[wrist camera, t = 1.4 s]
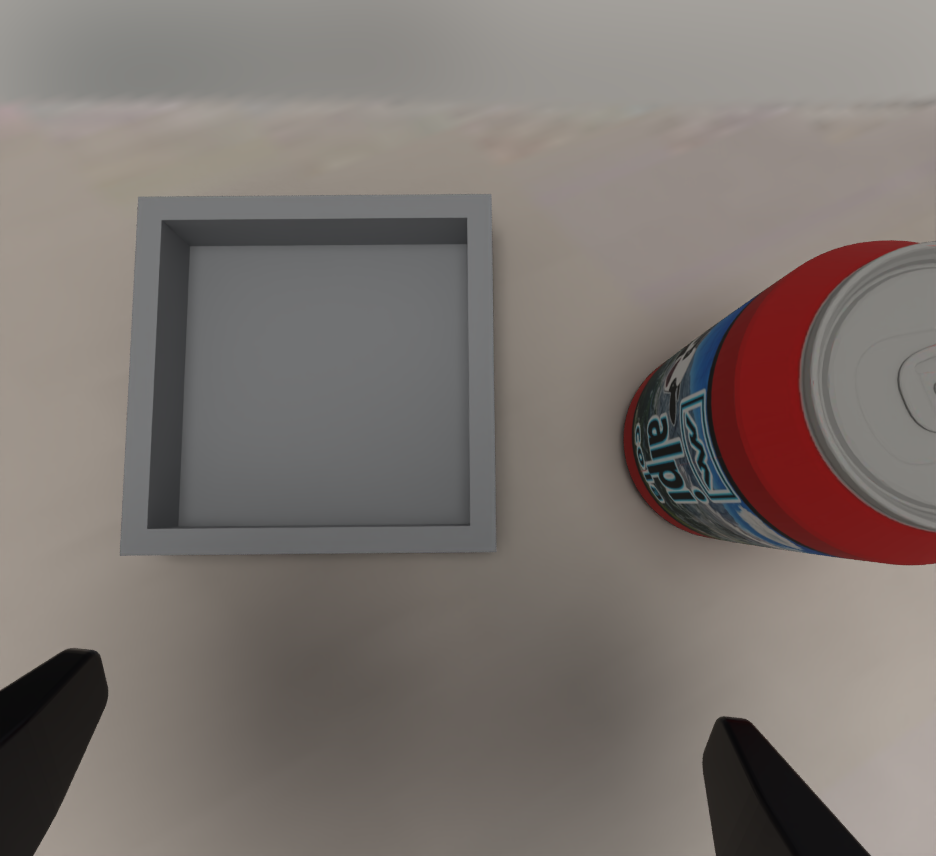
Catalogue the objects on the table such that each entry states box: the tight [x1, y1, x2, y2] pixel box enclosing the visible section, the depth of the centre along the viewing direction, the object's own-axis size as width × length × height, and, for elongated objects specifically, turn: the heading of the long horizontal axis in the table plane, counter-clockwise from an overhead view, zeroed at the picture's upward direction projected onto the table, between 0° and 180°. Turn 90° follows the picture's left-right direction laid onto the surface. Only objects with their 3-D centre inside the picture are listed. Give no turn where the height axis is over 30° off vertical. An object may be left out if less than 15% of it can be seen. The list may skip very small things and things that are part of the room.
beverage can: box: [624, 240, 936, 565], centre depth 18 cm, size 7×7×12 cm
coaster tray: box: [120, 194, 496, 556], centre depth 22 cm, size 12×12×3 cm
